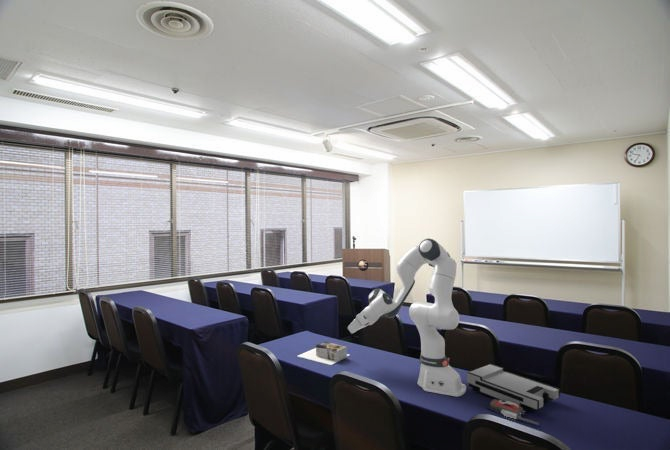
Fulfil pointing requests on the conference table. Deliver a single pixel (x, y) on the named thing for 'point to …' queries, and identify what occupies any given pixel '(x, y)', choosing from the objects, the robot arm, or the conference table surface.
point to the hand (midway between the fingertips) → (352, 332)
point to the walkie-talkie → (508, 409)
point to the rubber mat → (317, 357)
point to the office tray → (511, 387)
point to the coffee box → (331, 351)
